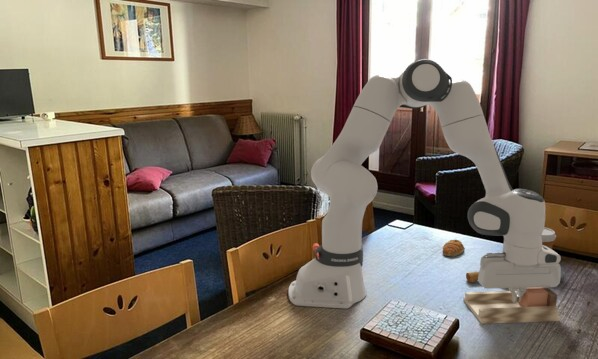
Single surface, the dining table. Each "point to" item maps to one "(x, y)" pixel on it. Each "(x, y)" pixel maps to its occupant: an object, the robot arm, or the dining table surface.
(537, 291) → the salmon pink cube
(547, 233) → the disposable coffee cup
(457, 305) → the dining table surface
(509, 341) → the dining table surface
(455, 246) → the pastry
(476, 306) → the channel
